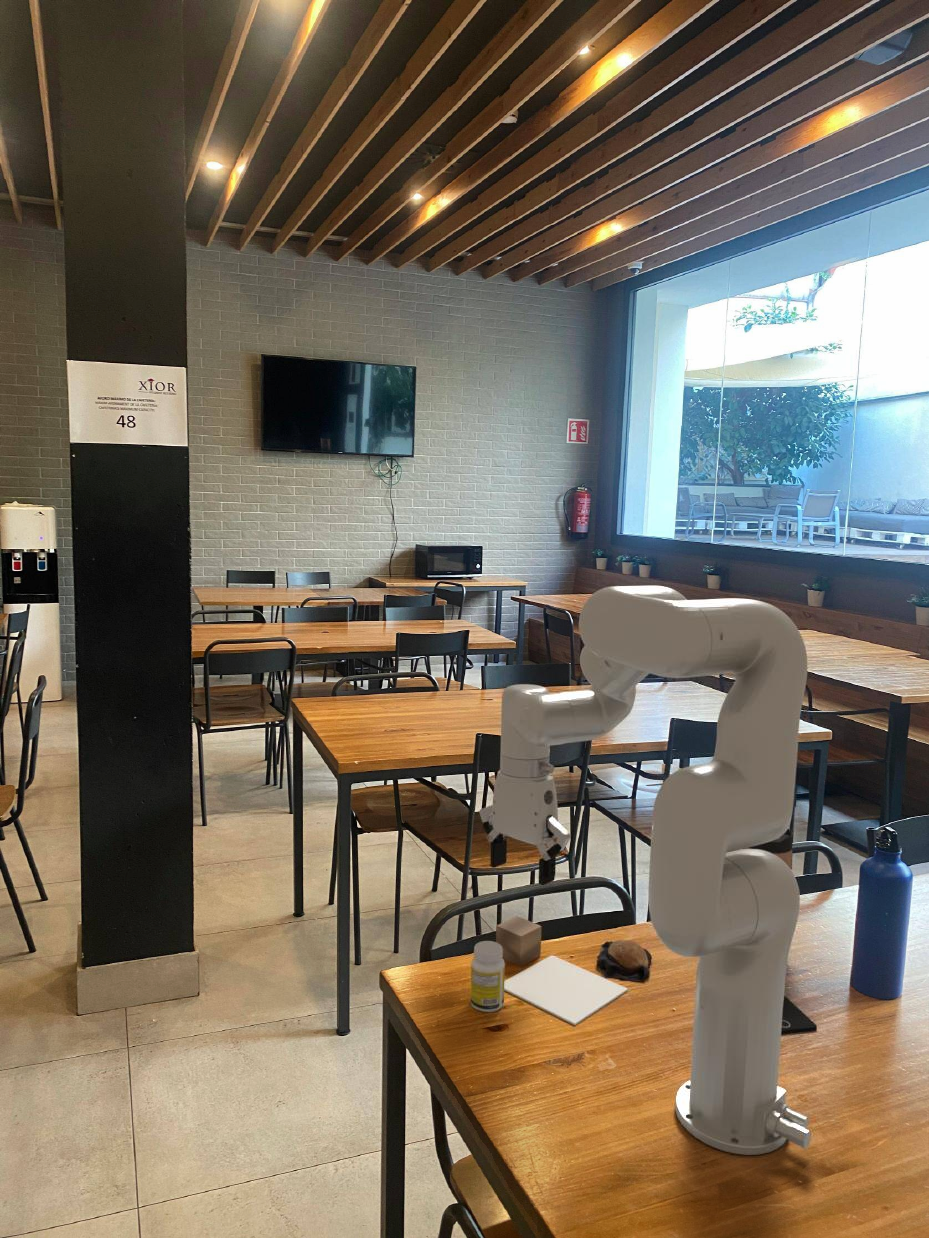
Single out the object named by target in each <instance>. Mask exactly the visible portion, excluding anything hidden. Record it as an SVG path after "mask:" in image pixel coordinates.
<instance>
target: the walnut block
mask: <svg viewBox="0 0 929 1238" xmlns="http://www.w3.org/2000/svg"><path fill="white" fill-rule="evenodd" d="M495 929H496V933H495V936H496V937H495V942H496V943H499V944H500V945H501V946H502V949H503V956H502V959H503V960H504V961H506V962H508V963H510V964H513V965H515V966H516V967H519V968H522V967H523V966H525V965H526V964H528V963H531V962H532V961H534V960H536V959H538V958H541V955H542V954H541V953H542V952H541V951H542V926H541V925H540V924H537V923H535V922H532V921H530V920H528V919H525V918H523V917H521V916H518V915H516V916H514V917H512V918H510V919H508V920H505V921H503V922H501V923H500V924H497V925H496V928H495Z"/></svg>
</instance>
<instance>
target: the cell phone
mask: <svg viewBox="0 0 929 1238" xmlns="http://www.w3.org/2000/svg"><path fill="white" fill-rule="evenodd" d="M817 1027H818V1026H817V1024H816V1023H815V1022H814V1021H812V1019H810V1017H808V1016H807V1015H806V1014H805V1013H804V1012H803V1011H802V1010H801V1009H800V1008H799V1007H797V1005H795V1004H794V1003H793V1001H791V1000H790V999H789V998H788V997H787V996H786V995H785V994H784V1001H783V1013H782V1028H781V1035H787V1034H789V1035H790V1034H798V1033H807V1032H809V1033H810V1032H815V1031H817V1030H818V1029H817Z"/></svg>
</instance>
